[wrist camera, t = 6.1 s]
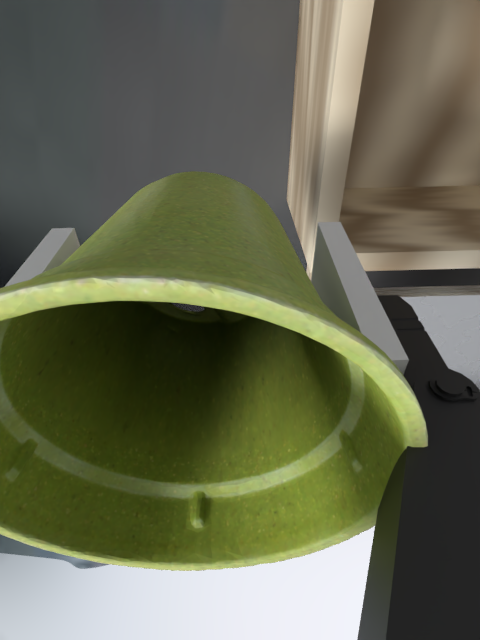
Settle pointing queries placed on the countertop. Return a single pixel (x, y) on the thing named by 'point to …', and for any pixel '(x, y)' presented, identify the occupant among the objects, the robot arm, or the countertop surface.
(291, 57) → the countertop surface
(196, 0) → the countertop surface
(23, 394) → the plant pot
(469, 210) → the housing
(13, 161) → the countertop surface
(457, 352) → the lid
